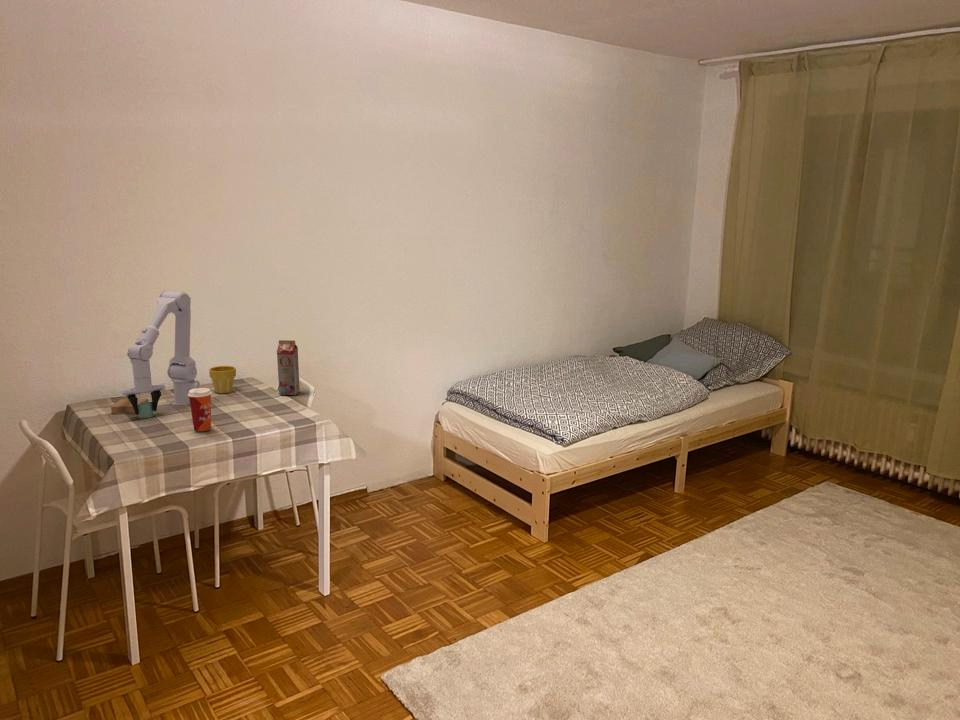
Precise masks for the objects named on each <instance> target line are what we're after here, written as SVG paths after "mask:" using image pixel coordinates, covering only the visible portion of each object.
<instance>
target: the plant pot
mask: <svg viewBox="0 0 960 720" xmlns="http://www.w3.org/2000/svg"><path fill="white" fill-rule="evenodd" d="M208 371H209V372H208V373H209V378H210V379H211V381H212V385H213V389H214V392H215V393H216V394H228V393H231V392H233V388H234V381H235V377H237V376H236V375H237V368H236V367H235V366H231V365H217V366H214V367H210V368H209V370H208Z"/></svg>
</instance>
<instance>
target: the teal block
mask: <svg viewBox="0 0 960 720" xmlns="http://www.w3.org/2000/svg"><path fill="white" fill-rule="evenodd" d="M138 412H139V414H138V415H137V416H138V418H139V419H143V418H144V419H149V418H150V419H151V417H153V416H154V411H153V403H152V401H148V402H140V403H139V404H138Z"/></svg>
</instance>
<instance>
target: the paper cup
mask: <svg viewBox="0 0 960 720" xmlns="http://www.w3.org/2000/svg"><path fill="white" fill-rule="evenodd" d="M188 396H189V400H190V404H189V407H190V412H191V419H192V424H193V425H192V426H193V431H194V432H207V431H210V430H211V429H212V391H211V389H210V388H208V387H207V388H206V387H200V388H195V389H191V390H190V391H189V394H188Z"/></svg>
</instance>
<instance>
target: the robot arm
mask: <svg viewBox="0 0 960 720" xmlns="http://www.w3.org/2000/svg"><path fill="white" fill-rule="evenodd" d="M191 301H192V300H191V296H190V295H189V294H188V293H187V292H185V291H171V290H169V291H168V290H163V291H161V292H160V294H159V296H158V297H157V298H156V302H157V307H156V309H155V310H154V313H153V316H152V318H151V319H150V323H149V324H148V325H145V326H144V327H142V329H141V331H140V334H139V335H138V337H137V339H136V340H135V342H134V343H133V344H131V345H130V346H129V347H128V349H127V352H126V356H127V357H128V359H129V360H130V364H131V365H132V366H131V367H132V375H133V385H134V387H132V388H129V389H125V390H121V397H123V398H126V399H129V401H130V402H131V404H132V406H133V409H134V412H135V414H134V415H137V416H138V414H139V412H138V399H139V398H138V397H137V395H143V394H148V393H150V397H151V402H152V403H153V412H157V410H158V404H159V400H160V398H161V397H162V391H164V392H165V391H166V385H165V384H157V385H156V384H155V385H152V374H151V364H150V359H151V358H152V356H153V354H154V353H153V352H154V351H153V349H154V345H155V342H156V341H157V339H158V337H159V335H160V331H159V328H160V327H161V326H162V325H163V323H164V321H165V320H166V319H167V317H168V315H169V314H171V313H172V314H173V315H174V317H175V321H174V322H175V324H174V356H173V357H172V358H170V359H169V364H168V367H167V377H168V378H169V379H171V380H170V381H171V382H172V384H173V396H174V401H173V402H172V403H171V405H172V406H173V405H174V406H177V405H178V406H180V405H182V406H183V405H190V400H189V396H188V394H189V391H190V390H191V389H195V388H201V382H200V381H199V380H196V378H197V375H198V369H197V367H196V366H197V365H196V361H195V360H194V359H193V358H192V357H191V356H190V355H191V353H190V351H191V349H190V347H191V321H192V320H191V313H192V310H191V303H192V302H191Z"/></svg>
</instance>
